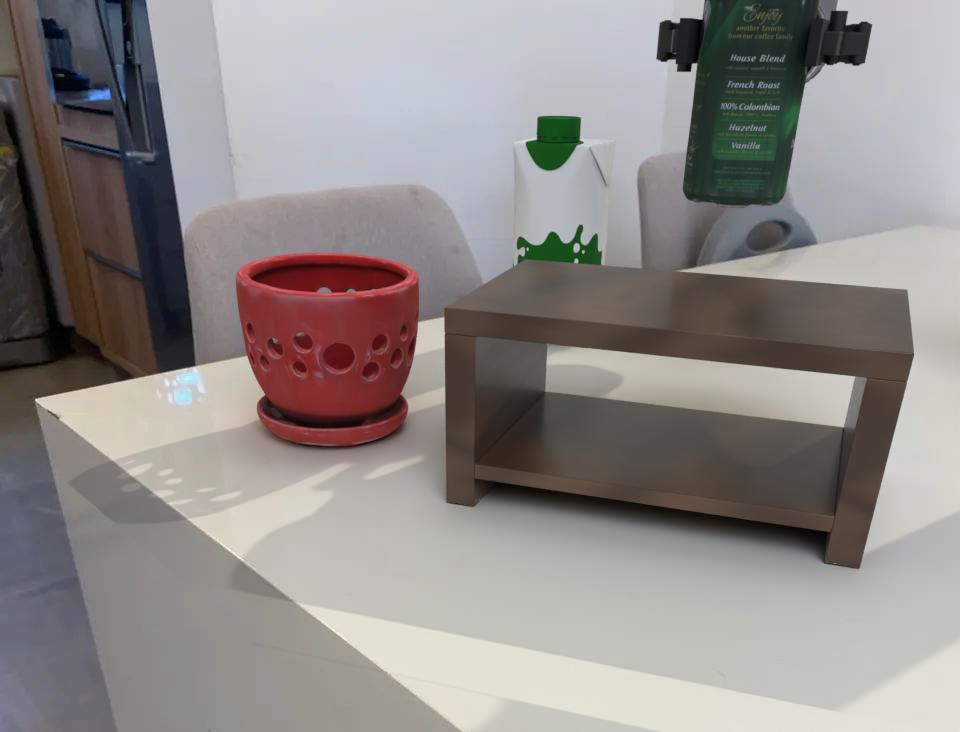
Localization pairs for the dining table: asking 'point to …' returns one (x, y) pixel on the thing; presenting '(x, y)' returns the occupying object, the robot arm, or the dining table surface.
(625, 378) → the dining table surface
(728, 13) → the coffee jar
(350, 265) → the flower pot
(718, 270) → the dining table surface
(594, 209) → the milk carton
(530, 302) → the shelf
